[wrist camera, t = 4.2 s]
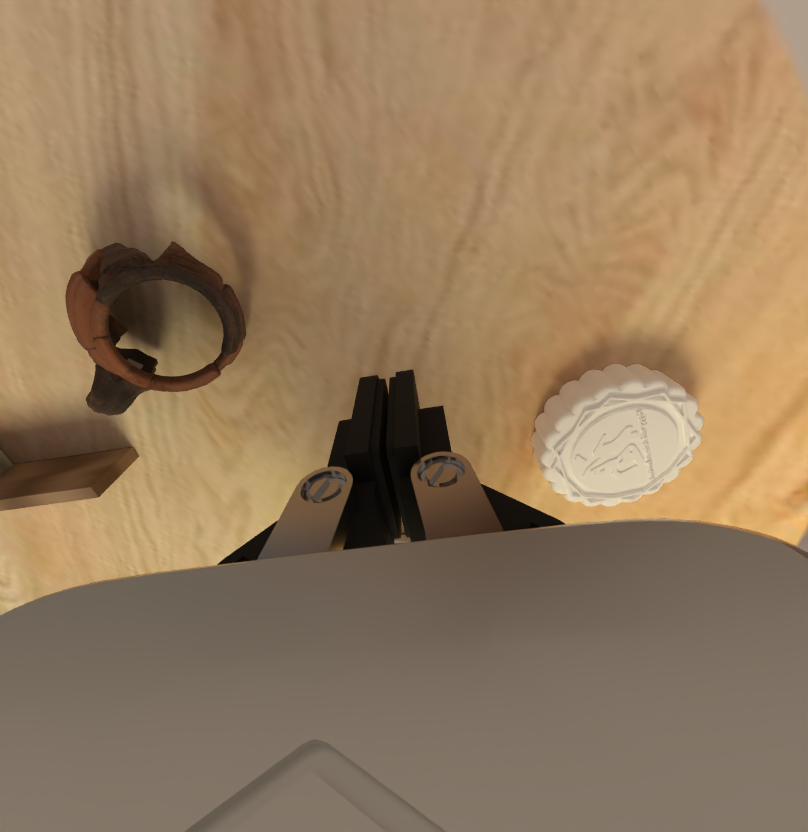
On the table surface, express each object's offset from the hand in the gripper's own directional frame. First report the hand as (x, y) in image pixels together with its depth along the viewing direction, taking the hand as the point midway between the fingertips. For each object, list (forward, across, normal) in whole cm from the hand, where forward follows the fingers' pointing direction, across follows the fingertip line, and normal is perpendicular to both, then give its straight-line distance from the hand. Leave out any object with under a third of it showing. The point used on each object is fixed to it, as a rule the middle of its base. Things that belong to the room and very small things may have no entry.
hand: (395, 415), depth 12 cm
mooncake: (+16, -15, +14) cm, 26 cm away
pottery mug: (+16, +16, -1) cm, 23 cm away
